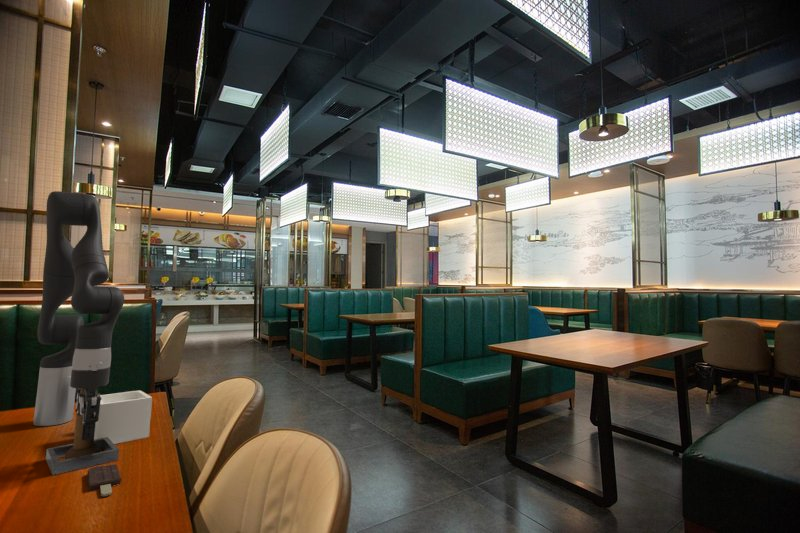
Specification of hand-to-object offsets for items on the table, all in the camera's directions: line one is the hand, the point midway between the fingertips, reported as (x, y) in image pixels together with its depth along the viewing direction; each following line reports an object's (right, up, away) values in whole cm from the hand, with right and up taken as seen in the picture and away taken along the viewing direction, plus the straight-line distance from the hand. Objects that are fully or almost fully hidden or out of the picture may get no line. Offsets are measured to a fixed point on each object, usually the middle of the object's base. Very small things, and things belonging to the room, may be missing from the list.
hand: (84, 435), depth 94 cm
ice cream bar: (+14, -6, -12) cm, 19 cm away
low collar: (0, -6, 0) cm, 6 cm away
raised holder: (-3, -7, +16) cm, 17 cm away
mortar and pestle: (0, -6, -1) cm, 6 cm away
